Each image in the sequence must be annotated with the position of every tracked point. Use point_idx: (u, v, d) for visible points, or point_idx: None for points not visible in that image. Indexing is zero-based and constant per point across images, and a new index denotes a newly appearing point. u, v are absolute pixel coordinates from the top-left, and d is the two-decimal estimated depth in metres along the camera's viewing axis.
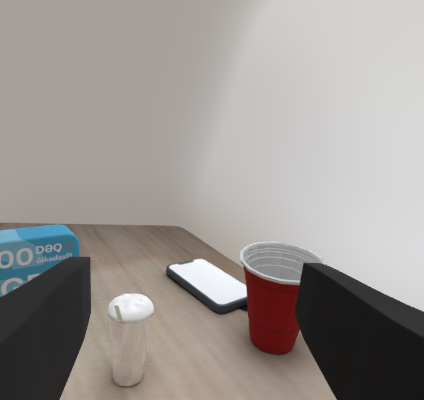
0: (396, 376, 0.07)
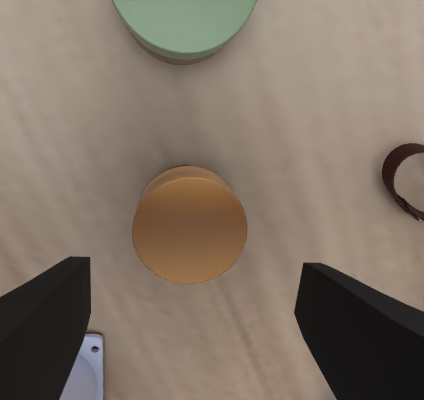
0: (396, 376, 0.07)
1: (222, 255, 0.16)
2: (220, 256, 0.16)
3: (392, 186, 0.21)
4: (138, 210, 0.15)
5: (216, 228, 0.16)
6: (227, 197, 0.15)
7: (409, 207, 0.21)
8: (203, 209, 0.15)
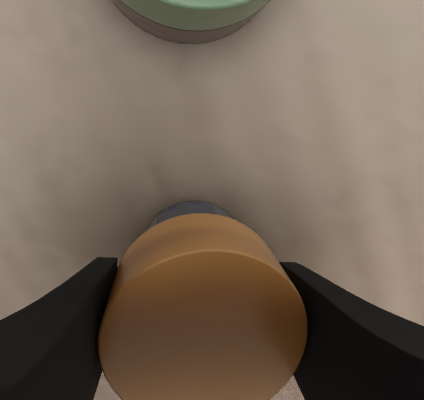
0: (356, 377, 0.07)
1: (262, 378, 0.09)
2: (257, 380, 0.09)
3: None
4: (108, 311, 0.08)
5: (253, 335, 0.09)
6: (275, 282, 0.08)
7: None
8: (231, 305, 0.08)
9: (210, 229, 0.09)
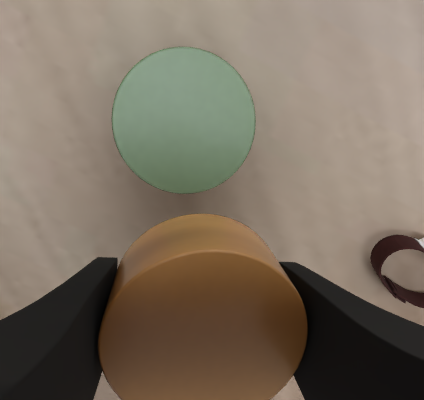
0: (356, 377, 0.07)
1: (262, 379, 0.09)
2: (257, 380, 0.09)
3: (379, 275, 0.22)
4: (108, 311, 0.08)
5: (253, 336, 0.09)
6: (275, 283, 0.08)
7: (396, 292, 0.23)
8: (230, 306, 0.08)
9: (210, 230, 0.09)
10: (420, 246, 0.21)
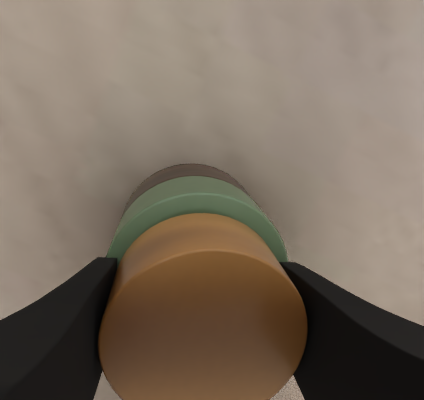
0: (356, 377, 0.07)
1: (262, 378, 0.09)
2: (257, 379, 0.09)
3: None
4: (108, 311, 0.08)
5: (253, 335, 0.09)
6: (275, 281, 0.08)
7: None
8: (231, 305, 0.08)
9: (210, 229, 0.09)
10: None
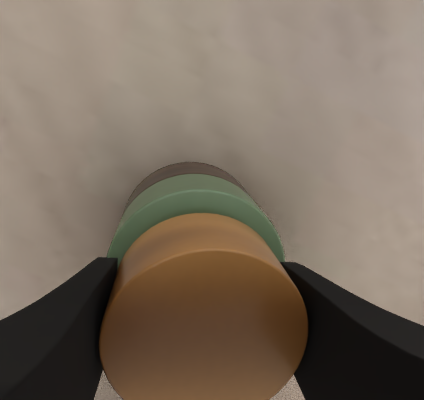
0: (356, 377, 0.07)
1: (262, 377, 0.09)
2: (258, 379, 0.09)
3: None
4: (109, 310, 0.08)
5: (254, 335, 0.09)
6: (276, 281, 0.08)
7: None
8: (231, 305, 0.08)
9: (211, 228, 0.09)
10: None
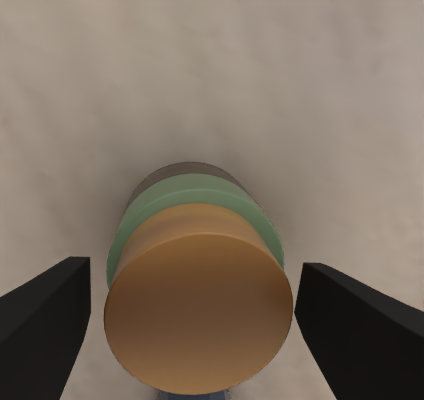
0: (396, 376, 0.07)
1: (252, 351, 0.10)
2: (248, 352, 0.10)
3: None
4: (113, 287, 0.09)
5: (243, 311, 0.09)
6: (263, 262, 0.09)
7: None
8: (222, 283, 0.09)
9: (205, 216, 0.10)
10: None
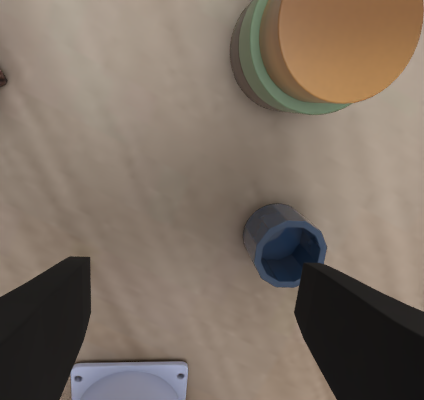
0: (396, 376, 0.07)
1: (387, 62, 0.12)
2: (383, 63, 0.12)
3: None
4: None
5: (385, 18, 0.12)
6: None
7: None
8: None
9: None
10: None
